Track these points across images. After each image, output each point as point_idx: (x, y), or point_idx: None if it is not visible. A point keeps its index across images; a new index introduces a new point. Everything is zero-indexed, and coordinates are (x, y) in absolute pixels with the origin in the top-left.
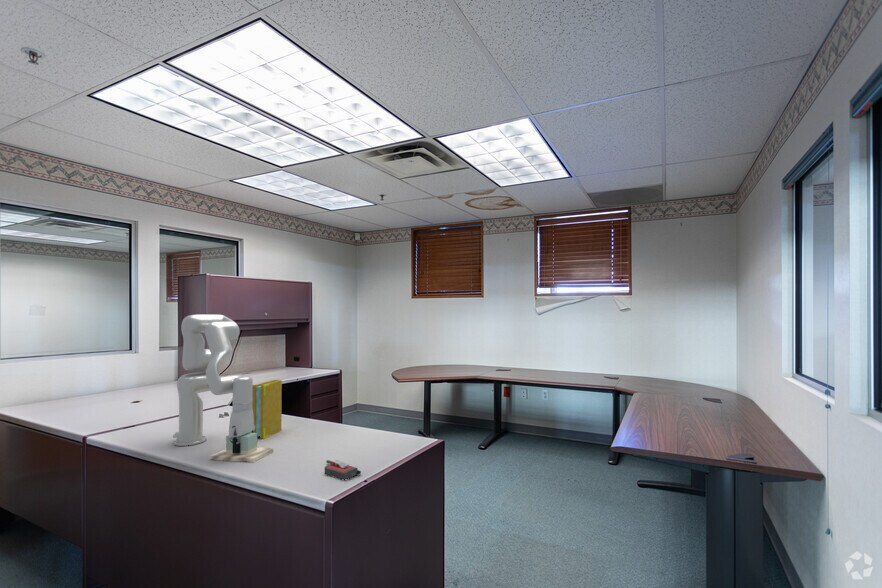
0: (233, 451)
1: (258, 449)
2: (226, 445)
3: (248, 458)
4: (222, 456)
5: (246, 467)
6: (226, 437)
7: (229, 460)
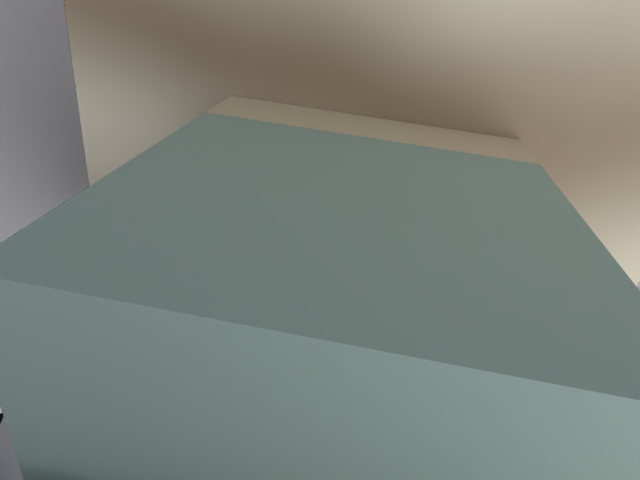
0: None
1: None
2: (162, 148)
3: None
4: (84, 123)
5: None
6: (7, 249)
7: None
